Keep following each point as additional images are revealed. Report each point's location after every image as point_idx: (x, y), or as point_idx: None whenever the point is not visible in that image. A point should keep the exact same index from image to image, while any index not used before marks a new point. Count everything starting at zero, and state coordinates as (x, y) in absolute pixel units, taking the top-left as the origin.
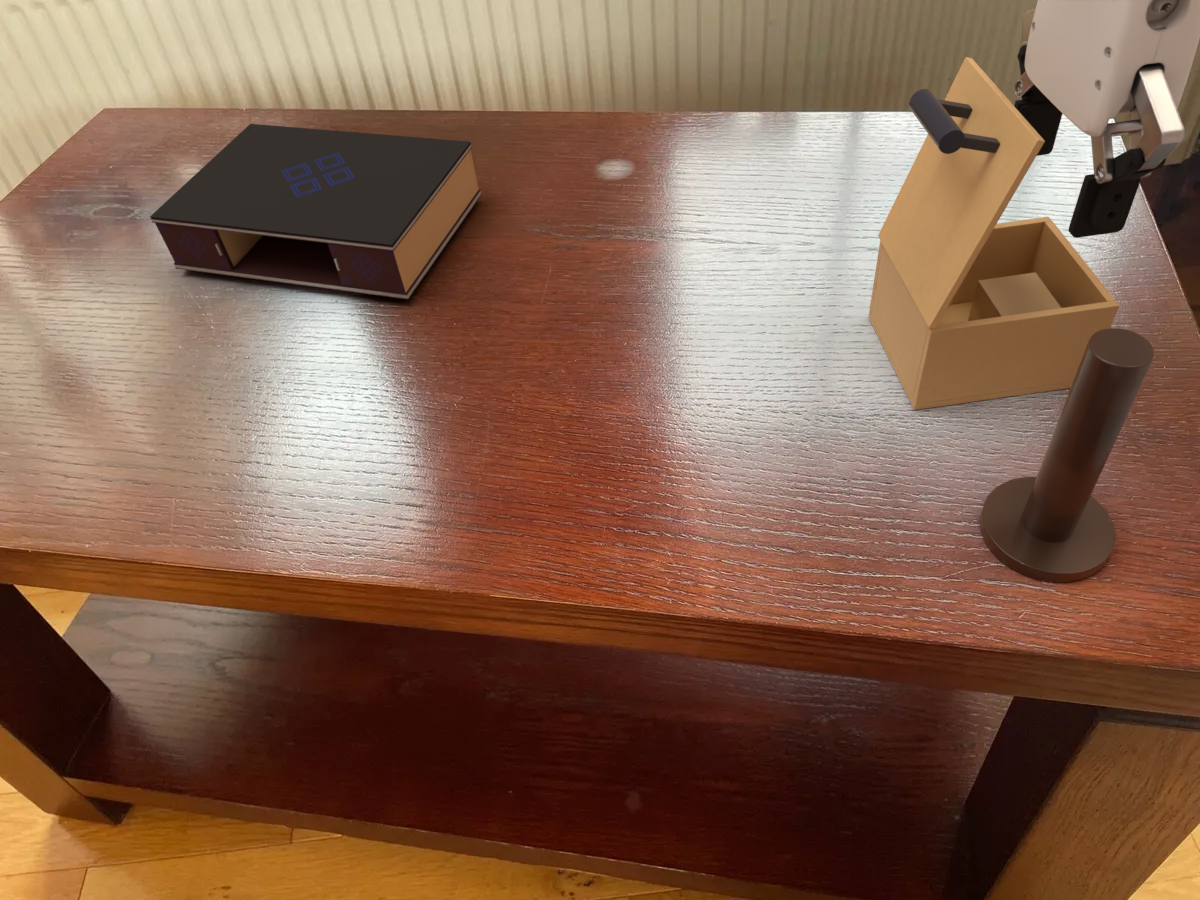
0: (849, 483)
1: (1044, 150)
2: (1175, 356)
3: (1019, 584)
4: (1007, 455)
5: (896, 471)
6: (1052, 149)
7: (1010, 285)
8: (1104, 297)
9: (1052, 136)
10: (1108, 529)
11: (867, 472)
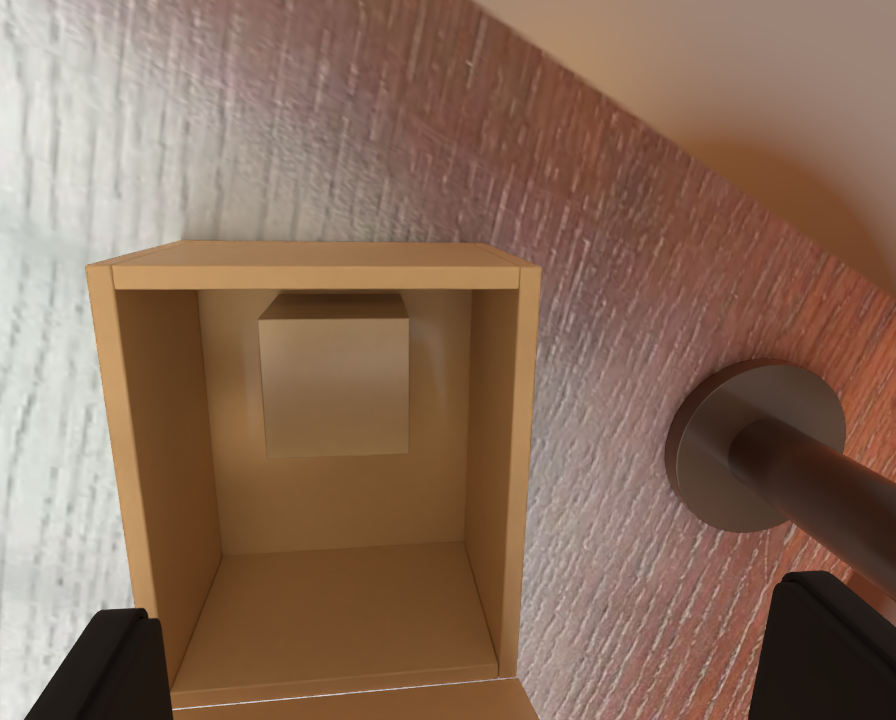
0: (591, 655)
1: (153, 659)
2: (443, 17)
3: None
4: (603, 439)
5: (588, 594)
6: (149, 624)
7: (300, 396)
8: (501, 287)
9: (119, 703)
10: (801, 378)
11: (579, 630)
